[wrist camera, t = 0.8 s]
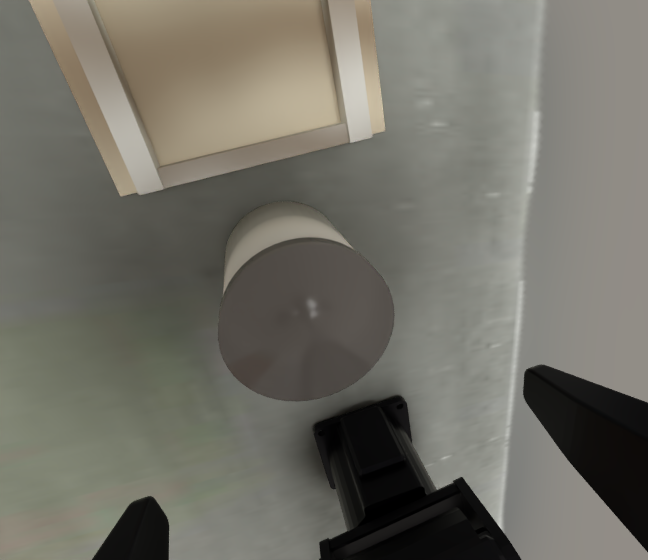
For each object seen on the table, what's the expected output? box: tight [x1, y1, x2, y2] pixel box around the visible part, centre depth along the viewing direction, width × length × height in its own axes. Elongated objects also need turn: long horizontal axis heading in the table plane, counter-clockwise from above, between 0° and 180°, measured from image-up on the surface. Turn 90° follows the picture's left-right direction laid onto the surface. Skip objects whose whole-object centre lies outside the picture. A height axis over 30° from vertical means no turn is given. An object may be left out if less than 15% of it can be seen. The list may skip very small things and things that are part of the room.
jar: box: [218, 201, 394, 401], centre depth 16 cm, size 6×6×7 cm
